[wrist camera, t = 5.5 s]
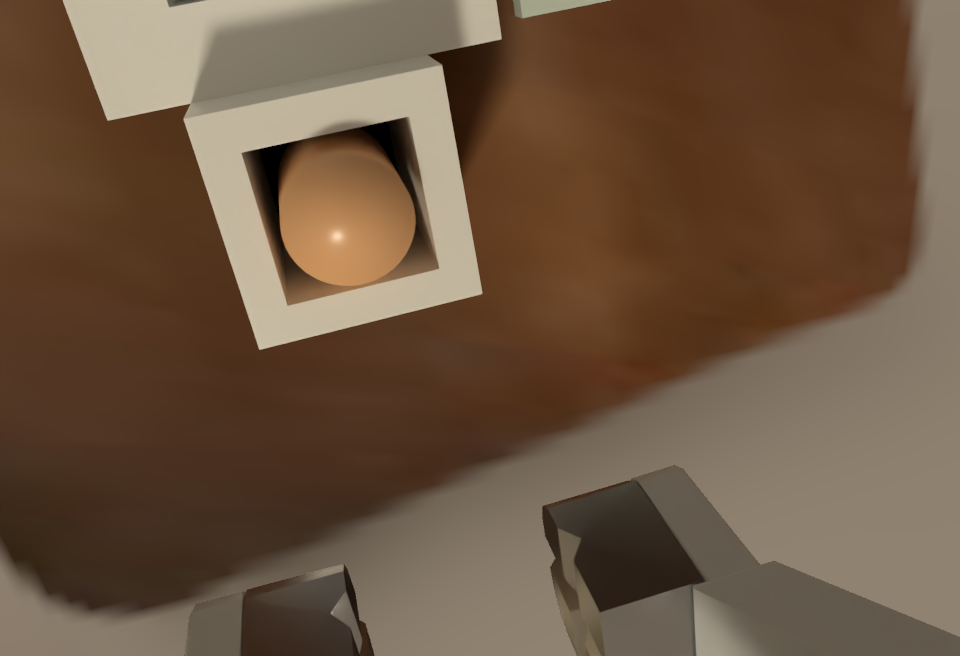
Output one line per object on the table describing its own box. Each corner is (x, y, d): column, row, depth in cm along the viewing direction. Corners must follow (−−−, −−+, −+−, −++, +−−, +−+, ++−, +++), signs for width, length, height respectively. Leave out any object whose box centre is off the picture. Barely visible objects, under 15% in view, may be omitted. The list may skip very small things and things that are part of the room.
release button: (263, 136, 22) (263, 173, 18) (379, 111, 22) (400, 143, 19) (295, 245, 23) (299, 299, 20) (402, 220, 24) (427, 268, 20)
